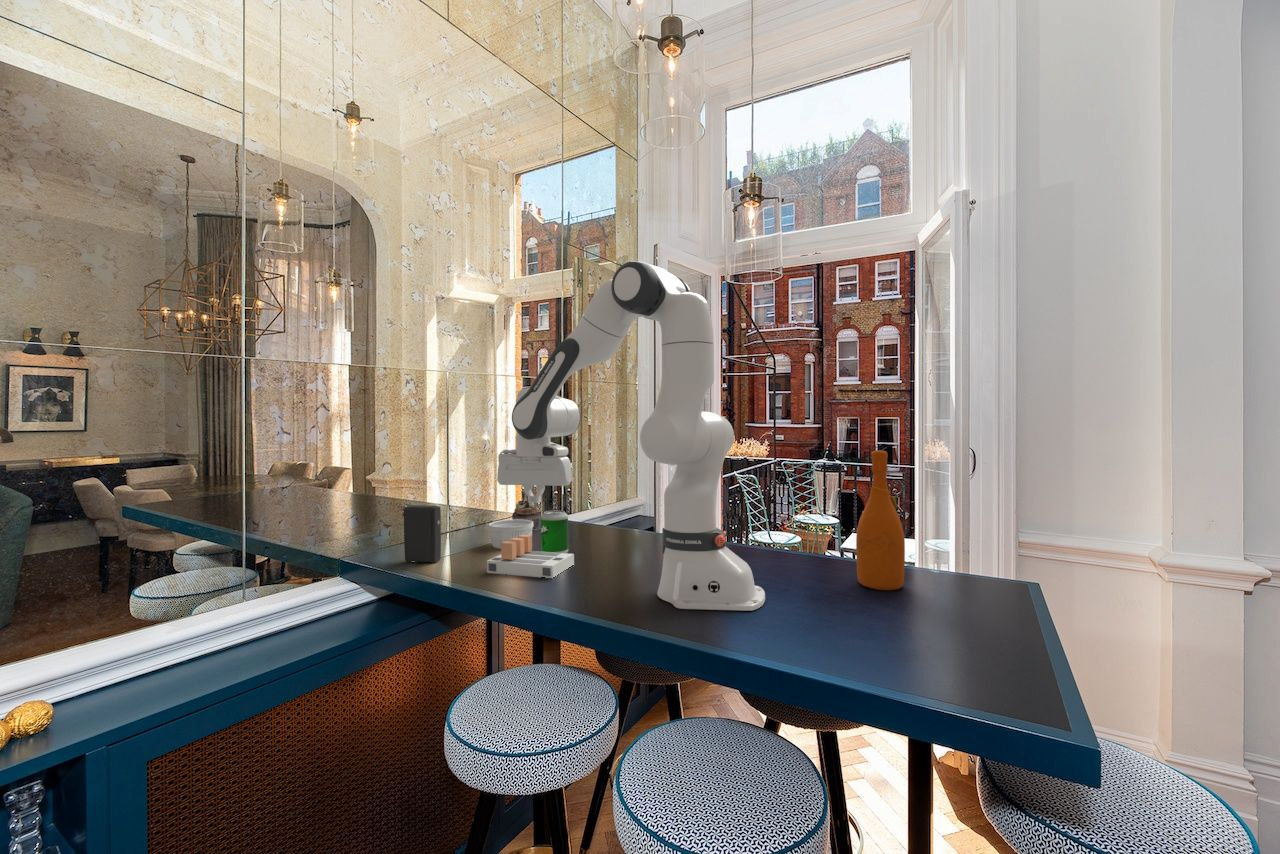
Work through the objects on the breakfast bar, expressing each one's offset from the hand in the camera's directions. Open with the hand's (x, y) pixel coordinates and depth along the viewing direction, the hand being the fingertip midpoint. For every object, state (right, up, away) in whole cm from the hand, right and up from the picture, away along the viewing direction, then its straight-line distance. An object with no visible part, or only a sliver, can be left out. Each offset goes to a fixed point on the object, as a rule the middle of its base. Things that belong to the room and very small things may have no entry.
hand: (534, 502), depth 141 cm
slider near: (-5, -13, -7) cm, 15 cm away
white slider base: (0, -16, -4) cm, 17 cm away
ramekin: (-11, -17, +23) cm, 30 cm away
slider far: (-3, -13, +1) cm, 13 cm away
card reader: (-31, -17, +5) cm, 35 cm away
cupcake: (-12, -16, +47) cm, 51 cm away
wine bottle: (+81, -16, -20) cm, 85 cm away
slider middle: (-4, -13, -3) cm, 14 cm away
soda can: (+4, -16, +11) cm, 20 cm away
